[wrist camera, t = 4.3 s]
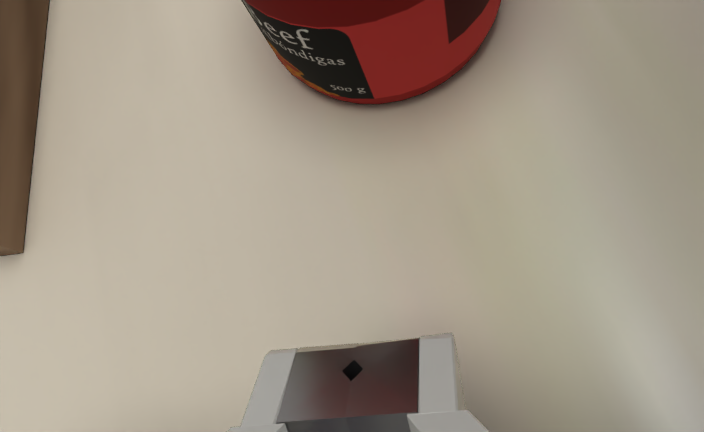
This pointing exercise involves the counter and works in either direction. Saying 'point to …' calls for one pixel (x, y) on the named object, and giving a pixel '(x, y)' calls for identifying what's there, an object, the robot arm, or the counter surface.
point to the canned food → (373, 43)
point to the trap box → (18, 111)
